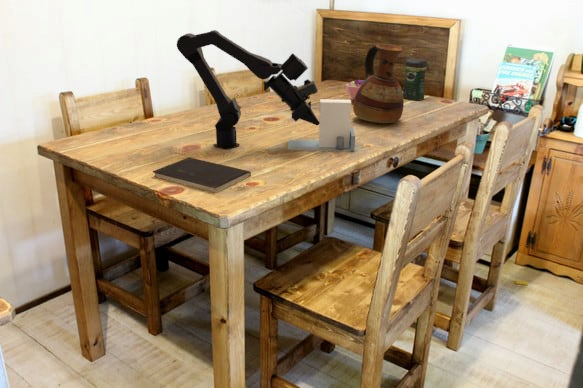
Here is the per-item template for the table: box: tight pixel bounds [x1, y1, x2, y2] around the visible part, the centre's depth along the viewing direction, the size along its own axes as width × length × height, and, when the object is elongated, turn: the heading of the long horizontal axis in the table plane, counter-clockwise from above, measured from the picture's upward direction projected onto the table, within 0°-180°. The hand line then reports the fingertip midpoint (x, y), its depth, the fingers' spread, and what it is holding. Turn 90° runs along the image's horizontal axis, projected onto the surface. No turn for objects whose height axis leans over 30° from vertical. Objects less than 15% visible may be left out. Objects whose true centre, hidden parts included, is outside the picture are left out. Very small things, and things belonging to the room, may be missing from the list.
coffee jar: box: [402, 57, 428, 101], centre depth 256 cm, size 10×8×19 cm
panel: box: [318, 98, 352, 147], centre depth 181 cm, size 10×4×15 cm, turn 88°
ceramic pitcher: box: [352, 42, 405, 124], centre depth 214 cm, size 20×20×30 cm
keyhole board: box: [287, 125, 356, 152], centre depth 184 cm, size 22×12×6 cm, turn 88°
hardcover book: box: [152, 157, 252, 194], centre depth 158 cm, size 16×23×2 cm
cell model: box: [345, 79, 366, 100], centre depth 250 cm, size 17×20×11 cm
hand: (318, 124), depth 182 cm, fingers closed, pressing on panel
